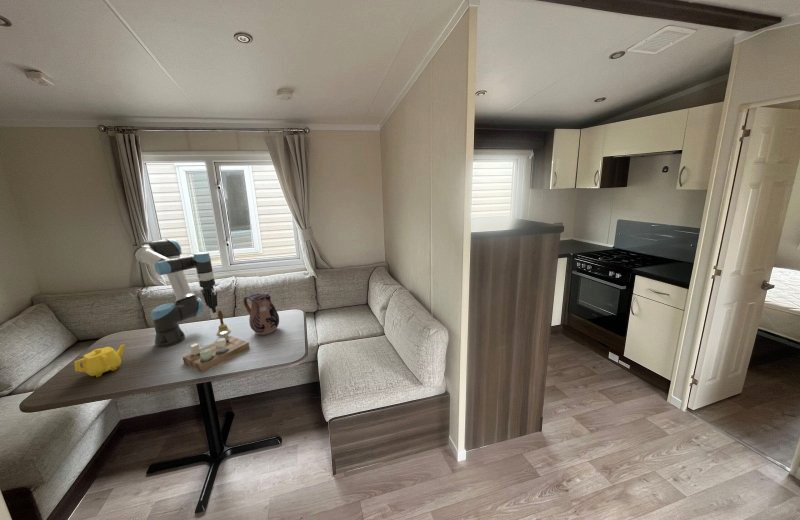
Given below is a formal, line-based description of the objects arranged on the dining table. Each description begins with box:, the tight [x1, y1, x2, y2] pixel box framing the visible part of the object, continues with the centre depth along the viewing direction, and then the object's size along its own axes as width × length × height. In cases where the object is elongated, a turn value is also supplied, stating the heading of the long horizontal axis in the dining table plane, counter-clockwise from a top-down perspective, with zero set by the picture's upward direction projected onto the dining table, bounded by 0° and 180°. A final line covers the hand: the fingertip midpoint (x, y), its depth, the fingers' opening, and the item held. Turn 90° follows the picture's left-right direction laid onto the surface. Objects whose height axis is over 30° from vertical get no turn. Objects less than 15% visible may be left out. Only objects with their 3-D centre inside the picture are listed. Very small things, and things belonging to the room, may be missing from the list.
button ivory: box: [214, 337, 227, 349], centre depth 162 cm, size 5×5×4 cm
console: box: [182, 335, 250, 373], centre depth 167 cm, size 19×26×4 cm
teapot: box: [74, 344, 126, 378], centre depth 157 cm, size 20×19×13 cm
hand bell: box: [216, 309, 232, 337], centre depth 193 cm, size 8×8×16 cm
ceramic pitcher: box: [242, 291, 280, 336], centre depth 191 cm, size 18×21×25 cm
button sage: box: [200, 349, 213, 361], centre depth 156 cm, size 5×5×4 cm
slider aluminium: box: [219, 331, 229, 341], centre depth 175 cm, size 3×3×5 cm
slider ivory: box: [189, 342, 201, 355], centre depth 162 cm, size 3×3×5 cm
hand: (214, 317), depth 176 cm, fingers closed
